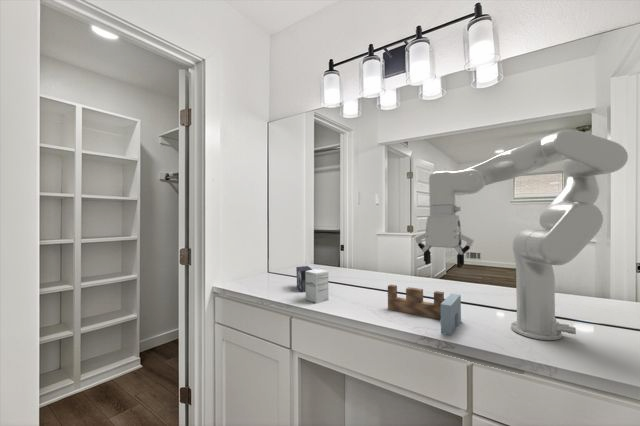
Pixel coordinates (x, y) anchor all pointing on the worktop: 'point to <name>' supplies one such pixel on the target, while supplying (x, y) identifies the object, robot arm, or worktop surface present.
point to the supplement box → (316, 285)
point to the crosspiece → (450, 313)
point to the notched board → (415, 302)
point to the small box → (302, 277)
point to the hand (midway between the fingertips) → (443, 265)
